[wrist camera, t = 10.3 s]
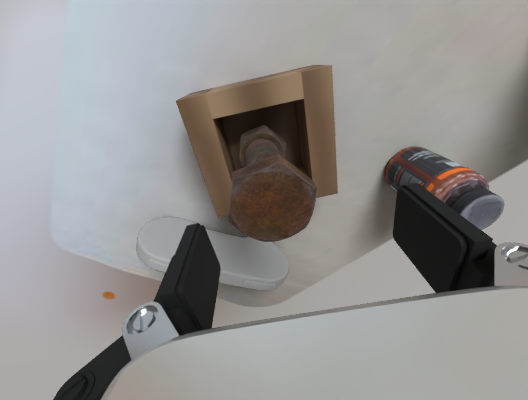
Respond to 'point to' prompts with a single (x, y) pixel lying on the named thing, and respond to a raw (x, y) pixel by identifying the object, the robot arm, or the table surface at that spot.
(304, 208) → the bolt
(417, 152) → the supplement bottle
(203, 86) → the table surface
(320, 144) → the socket block
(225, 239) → the game controller
